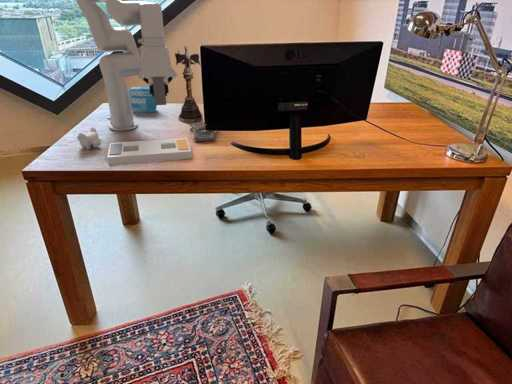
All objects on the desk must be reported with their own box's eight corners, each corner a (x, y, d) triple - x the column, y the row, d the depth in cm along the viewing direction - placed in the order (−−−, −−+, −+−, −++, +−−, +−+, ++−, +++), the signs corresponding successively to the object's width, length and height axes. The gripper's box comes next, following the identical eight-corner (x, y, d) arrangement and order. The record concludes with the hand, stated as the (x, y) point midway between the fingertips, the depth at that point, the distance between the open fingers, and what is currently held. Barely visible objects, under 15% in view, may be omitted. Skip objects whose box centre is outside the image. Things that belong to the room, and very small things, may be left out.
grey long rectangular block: (155, 105, 133) (150, 67, 126) (155, 102, 136) (150, 65, 130) (166, 104, 134) (162, 67, 127) (165, 102, 137) (161, 65, 131)
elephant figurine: (95, 152, 139) (92, 135, 136) (75, 149, 142) (71, 132, 138) (108, 145, 146) (105, 129, 142) (88, 142, 148) (84, 125, 145)
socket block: (108, 165, 130) (107, 156, 129) (111, 150, 142) (109, 142, 140) (191, 158, 138) (191, 150, 136) (187, 144, 150) (187, 137, 148)
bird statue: (178, 112, 187) (172, 40, 169) (203, 112, 188) (200, 41, 170) (173, 122, 173) (167, 45, 155) (201, 123, 174) (198, 46, 156)
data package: (131, 112, 184) (128, 88, 178) (133, 109, 188) (130, 86, 182) (155, 112, 185) (153, 89, 179) (156, 110, 189) (154, 87, 183)
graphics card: (189, 122, 165) (215, 122, 166) (190, 130, 167) (216, 130, 167) (186, 136, 150) (215, 136, 151) (187, 145, 152) (215, 144, 153)
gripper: (128, 44, 119) (136, 99, 128) (179, 43, 124) (183, 96, 132) (129, 41, 126) (136, 94, 134) (177, 41, 130) (181, 92, 139)
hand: (159, 94), depth 133 cm, fingers closed on grey long rectangular block, 4 cm apart
